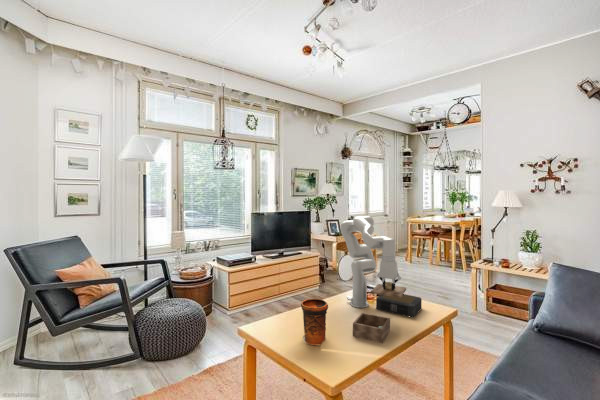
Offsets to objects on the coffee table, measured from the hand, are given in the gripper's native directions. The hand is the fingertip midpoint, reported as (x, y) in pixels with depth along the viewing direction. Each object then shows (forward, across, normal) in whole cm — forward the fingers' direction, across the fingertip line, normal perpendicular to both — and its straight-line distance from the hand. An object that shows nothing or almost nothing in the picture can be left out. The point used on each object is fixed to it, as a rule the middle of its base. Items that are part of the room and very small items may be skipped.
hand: (388, 288), depth 183 cm
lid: (+2, 0, 0) cm, 2 cm away
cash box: (+21, +1, +25) cm, 33 cm away
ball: (+18, 0, -17) cm, 24 cm away
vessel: (+21, -30, -40) cm, 54 cm away
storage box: (+20, -5, -20) cm, 29 cm away
